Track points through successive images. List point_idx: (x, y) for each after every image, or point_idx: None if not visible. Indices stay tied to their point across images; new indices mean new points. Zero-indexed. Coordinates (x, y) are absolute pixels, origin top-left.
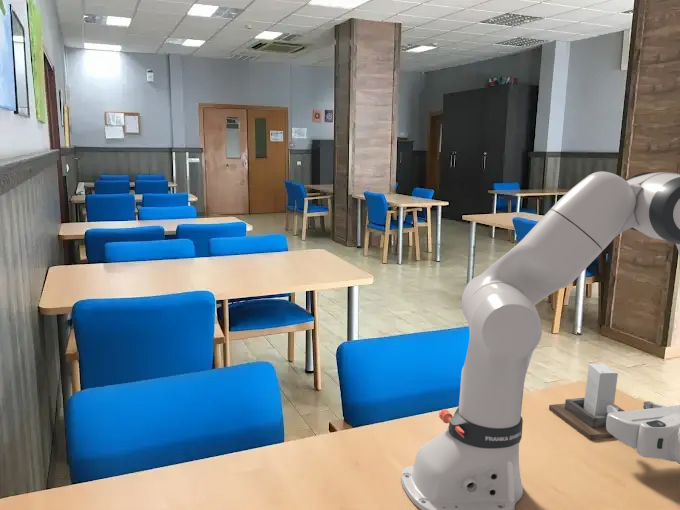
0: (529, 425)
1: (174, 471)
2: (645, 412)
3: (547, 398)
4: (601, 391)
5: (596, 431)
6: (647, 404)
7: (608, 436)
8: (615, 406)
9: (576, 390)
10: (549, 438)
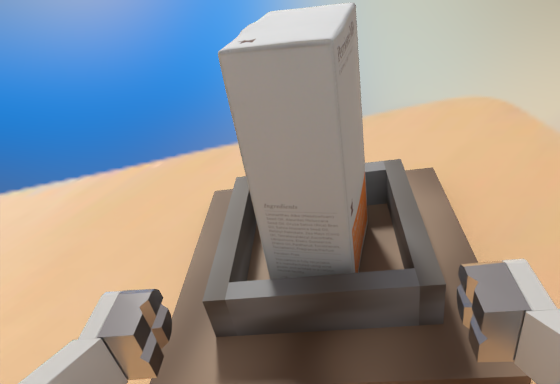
0: (59, 277)
1: None
2: None
3: None
4: (258, 160)
5: (210, 363)
6: (476, 295)
7: None
8: (129, 314)
9: (399, 128)
10: (16, 365)
